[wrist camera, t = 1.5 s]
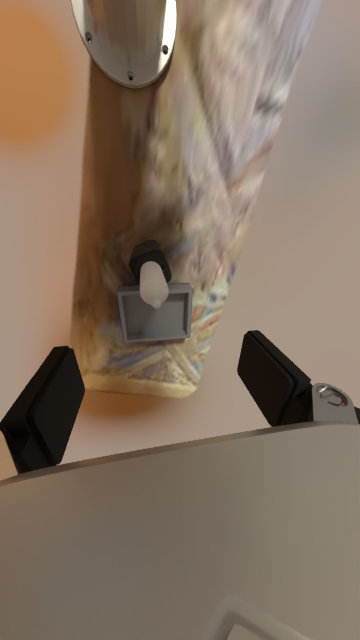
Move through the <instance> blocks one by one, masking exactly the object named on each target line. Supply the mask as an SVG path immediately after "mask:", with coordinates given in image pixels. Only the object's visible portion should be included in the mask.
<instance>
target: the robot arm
mask: <svg viewBox="0 0 360 640" xmlns="http://www.w3.org/2000/svg"><path fill="white" fill-rule="evenodd" d="M70 1H71V6H72V10H73V15H74V18H75V21H76V24H77V28H78V30H79V33H80V35H81V38H82V40H83V43H84V45H85V47H86V49H87V51H88V52H89V54H90V56H91V58H92V59H93V60H94V62H95V63H96V65H97V66H98V67H99V68H100V69H101V71H102V72H103V73H104V74H105V75H106V76H107V77H109V78H110V79H111V80H113V81H114V82H116V83H118V84H120V85H122V86H124V87H128V88H133V89H134V88H143V87H146V86H148V85H151V84H152V83H153V82H155V81H156V80H157V79H158V78H159V77H160V76H161V74H162V73H163V72H164V70H165V68H166V67H167V65H168V63H169V60H170V57H171V54H172V51H173V46H174V42H175V35H176V27H177V9H176V0H70ZM89 40H91V41H92V42H91V43H89ZM164 52H165V53H166V55H164V54H163V53H164ZM129 78H132V79H133V80H129ZM237 371H238V375H239V376H240V378H241V380H242V381H243V383H244V384H245V386H246V388H247V389H248V391H249V393H250V394H251V396H252V397H253V399H254V400H255V402H256V404H257V405H258V407H259V409H260V410H261V411H262V413H263V415H264V417H265V418H266V419H267V421H268V423H269V424H270V425H271V426H272V427H270V428H264V429H258V430H252V431H246V432H240V433H234V434H228V435H223V436H217V437H211V438H205V439H200V440H194V441H188V442H182V443H176V444H171V445H165V446H159V447H153V448H148V449H142V450H137V451H131V452H126V453H120V454H115V455H110V456H103V457H98V458H92V459H87V460H82V461H77V462H72V463H67V464H62V465H57V464H59V463H60V462H61V461H62V458H63V455H64V452H65V449H66V446H67V443H68V440H69V437H70V434H71V431H72V428H73V426H74V422H75V420H76V417H77V414H78V410H79V408H80V405H81V402H82V399H83V396H84V392H85V387H84V383H83V380H82V377H81V373H80V370H79V367H78V363H77V360H76V357H75V353H74V350H73V349H72V348H69V347H68V346H60V347H54V348H53V349H52V351H51V352H50V354H49V355H48V356H47V358H46V359H45V361H44V362H43V363H42V365H41V366H40V368H39V369H38V371H37V372H36V373H35V375H34V376H33V377H32V379H31V380H30V381H29V383H28V384H27V386H26V387H25V389H24V390H23V391H22V392H21V394H20V395H19V397H18V398H17V400H16V401H15V402H14V404H13V405H12V407H11V408H10V410H9V411H8V412H7V414H6V415H5V416H4V418H3V419H2V421H1V422H0V640H360V409H359V408H356V407H354V406H353V402H352V401H351V399H350V398H349V396H348V395H347V394H345V393H344V392H343V391H342V390H340V389H338V388H336V387H334V386H332V385H329V384H325V383H317V384H315V385H312V384H311V383H310V381H311V379H310V378H309V377H308V376H307V375H306V374H305V373H304V372H302V371H301V370H300V369H299V368H298V367H297V366H296V365H295V364H294V363H293V362H292V361H291V360H290V359H289V358H288V357H287V356H285V355H284V354H283V353H282V352H281V351H280V350H279V349H278V348H277V347H276V346H275V345H274V344H273V343H272V342H271V341H270V340H268V339H267V338H266V337H265V336H264V335H263V334H262V333H261V332H260V331H258V330H255V331H248V332H247V334H245V335H244V339H243V344H242V349H241V353H240V358H239V364H238V368H237ZM56 465H57V466H56Z"/></svg>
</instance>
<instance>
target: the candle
mask: <svg viewBox="0 0 360 640" xmlns="http://www.w3.org/2000/svg"><path fill="white" fill-rule="evenodd" d="M129 267H130V270H131V272H132V274H133V276H134V278H135V280H136V282H137V284H138V286H139V287H140V295H141V298H142V299H143V301H145V302H146V303H148V304H150V305H152V307H153V308H156V309H157V308H159V307H160V306H161V303H163V302H164V301H165V300H166V299H167V297H168V293H169V289H168V286H167V283H168V282H169V281H170V279H171V271H170V269H169V266H168V264H167V261H166V259H165V256H164V254H163V252H162V250H161V249H160V247H159V245H158V244H157V242H156V241H155V240H149V241H146V242H144V243H141V244H139V245H137V246H135V247H134V249H133V252H132V255H131V258H130V262H129Z"/></svg>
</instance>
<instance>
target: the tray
mask: <svg viewBox="0 0 360 640" xmlns="http://www.w3.org/2000/svg"><path fill="white" fill-rule="evenodd" d="M167 286H168V289H169V293H168V297H167V299H166V300H165V301H164V302H163V303H161V306H160V307H159V308H157V309H156V308H153V307H152V305H150V304H148V303H146V302H145V301H143V299H142V298H141V295H140V287H139V286H138V285H127V286H119V287H118V290H117V297H118V304H119V310H120V317H121V324H122V331H123V337H124V343H135V342H146V341H158V340H170V339H182V338H190V334H191V314H192V294H193V288H192V287H191V286H190V284H189V283H182V284H167Z"/></svg>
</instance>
